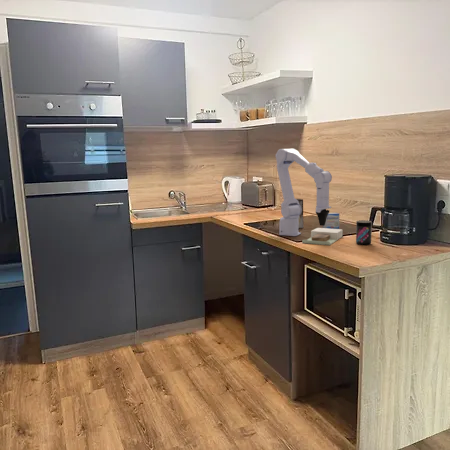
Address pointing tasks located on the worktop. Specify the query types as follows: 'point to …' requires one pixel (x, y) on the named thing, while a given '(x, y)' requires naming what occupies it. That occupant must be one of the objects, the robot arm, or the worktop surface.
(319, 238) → the tile
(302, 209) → the coffee box
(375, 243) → the worktop surface
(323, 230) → the white box
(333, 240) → the mat
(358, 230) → the supplement container
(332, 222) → the medicine box
